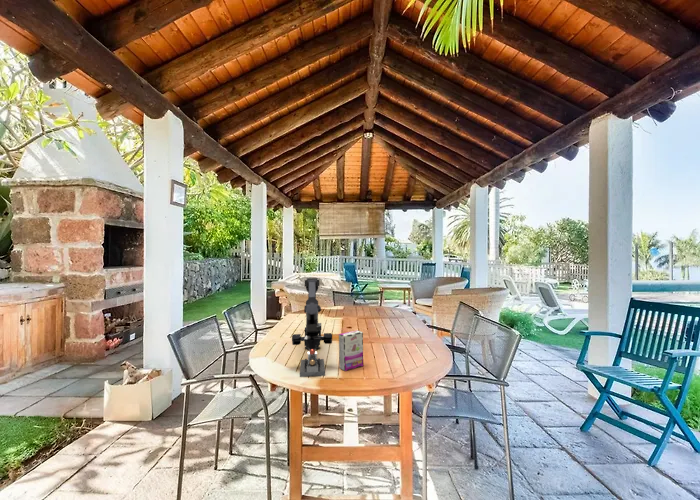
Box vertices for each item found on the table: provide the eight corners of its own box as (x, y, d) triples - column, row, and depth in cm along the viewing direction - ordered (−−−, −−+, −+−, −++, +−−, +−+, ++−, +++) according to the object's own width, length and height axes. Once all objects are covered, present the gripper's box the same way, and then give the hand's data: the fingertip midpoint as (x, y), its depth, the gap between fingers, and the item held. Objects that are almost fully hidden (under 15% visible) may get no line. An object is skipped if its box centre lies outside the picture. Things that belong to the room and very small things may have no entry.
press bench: (301, 363, 166) (301, 349, 166) (323, 362, 167) (323, 348, 167) (299, 377, 149) (299, 361, 149) (324, 376, 151) (324, 360, 150)
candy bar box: (357, 363, 166) (357, 329, 166) (363, 366, 162) (363, 332, 162) (338, 368, 160) (338, 333, 160) (344, 371, 156) (344, 335, 156)
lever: (308, 361, 158) (307, 347, 153) (316, 361, 158) (316, 347, 154) (308, 365, 156) (307, 352, 151) (316, 365, 156) (316, 351, 151)
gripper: (291, 317, 159) (290, 348, 148) (331, 316, 161) (333, 346, 150) (293, 329, 167) (291, 359, 156) (331, 328, 169) (332, 358, 159)
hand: (312, 355), depth 155 cm, fingers closed, pressing on lever
